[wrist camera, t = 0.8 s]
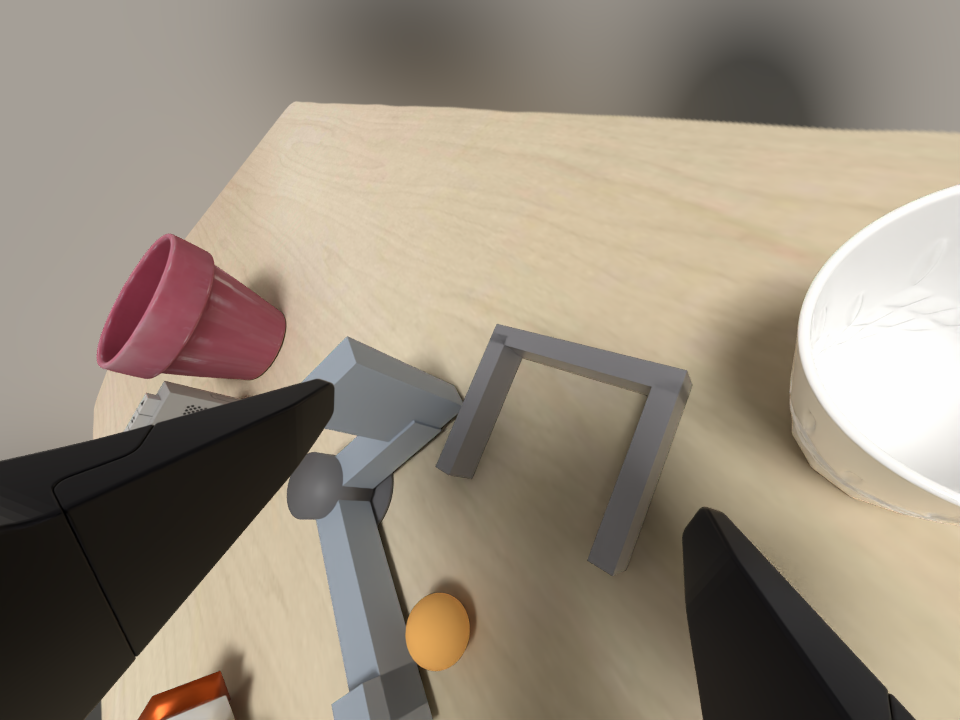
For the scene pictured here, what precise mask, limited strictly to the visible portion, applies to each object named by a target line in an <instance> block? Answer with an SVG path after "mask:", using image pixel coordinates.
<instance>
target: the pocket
mask: <svg viewBox="0 0 960 720" xmlns="http://www.w3.org/2000/svg"><path fill="white" fill-rule="evenodd" d="M522 358H524V359H527V360H531V361H534V362H537V363H541V364H544V365H547V366H551V367H554V368H557V369H561V370H564V371H567V372H571V373H574V374H577V375H581V376H584V377H587V378H591V379H594V380H597V381H601V382H604V383H607V384H611V385H614V386H617V387H621V388H624V389H627V390H631V391H634V392H638V393H641V394H644V395H648V398H647V401H646V404H645V407H644V409H643V412H642V415H641V417H640V420H639V423H638V425H637V428H636V431H635V433H634V436H633V439H632V441H631V444H630V447H629V450H628V452H627V455H626V458H625V460H624V463H623V466H622V468H621V471H620V474H619V476H618V479H617V482H616V484H615V487H614V490H613V493H612V495H611V498H610V501H609V503H608V506H607V509H606V511H605V514H604V517H603V519H602V522H601V525H600V527H599V530H598V533H597V536H596V538H595V541H594V544H593V546H592V549H591V552H590V554H589V557H588V560H587V561H589V562H590V563H592V564H594V565H595V566H597V567H599V568H600V569H602V570H603V571H605V572H607V573H608V574H610V575H611V576H614V575H616V574H618V573H621V572H623V571H625V570H626V569H627V566H628V563H629V560H630V558H631V555H632V552H633V549H634V547H635V544H636V541H637V538H638V535H639V533H640V530H641V527H642V524H643V522H644V519H645V516H646V513H647V510H648V508H649V505H650V502H651V499H652V497H653V494H654V491H655V488H656V485H657V483H658V480H659V477H660V474H661V472H662V469H663V466H664V463H665V460H666V458H667V455H668V452H669V449H670V446H671V444H672V441H673V438H674V435H675V433H676V430H677V427H678V424H679V421H680V419H681V416H682V413H683V410H684V408H685V405H686V402H687V399H688V396H689V394H690V391H691V388H692V382H691V379H690V377H689V374H688V371H687V370H683V369H679V368H675V367H671V366H667V365H663V364H659V363H655V362H651V361H646V360H642V359H638V358H634V357H630V356H626V355H622V354H618V353H614V352H610V351H606V350H602V349H597V348H593V347H589V346H585V345H581V344H577V343H573V342H569V341H565V340H561V339H557V338H552V337H548V336H544V335H540V334H536V333H532V332H528V331H524V330H520V329H516V328H512V327H508V326H503V325H499V324H496V327H495V329H494V331H493V334H492V336H491V338H490V341H489V343H488V345H487V348H486V350H485V352H484V355H483V357H482V359H481V362H480V364H479V366H478V369H477V371H476V373H475V376H474V378H473V380H472V383H471V385H470V387H469V390H468V392H467V394H466V397H465V399H464V401H463V404H462V406H461V408H460V411H459V413H458V415H457V418H456V420H455V422H454V425H453V427H452V429H451V432H450V434H449V436H448V439H447V441H446V443H445V446H444V448H443V450H442V453H441V455H440V457H439V460H438V462H437V464H436V468H438V469H440V470H441V471H443V472H445V473H446V474H448V475H451V476H458V477H464V478H471V479H472V477H473V475H474V472H475V470H476V468H477V465H478V463H479V460H480V458H481V456H482V453H483V451H484V448H485V446H486V444H487V441H488V439H489V436H490V434H491V432H492V429H493V427H494V424H495V422H496V420H497V417H498V415H499V412H500V410H501V408H502V405H503V403H504V400H505V398H506V396H507V393H508V391H509V388H510V386H511V384H512V381H513V379H514V376H515V374H516V372H517V369H518V367H519V364H520V362H521V359H522Z"/></svg>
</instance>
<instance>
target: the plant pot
mask: <svg viewBox="0 0 960 720" xmlns="http://www.w3.org/2000/svg"><path fill="white" fill-rule="evenodd" d="M285 326H286V324H285V318H284V315H283V314H282V312H280V311H279V310H278V309H276V308H275V307H273V306H272V305H271V304H269V303H268V302H267V301H265V300H264V299H262V298H261V297H260V296H258V295H257V294H256V293H254V292H253V291H252V290H250V289H249V288H247V287H246V286H245V285H243V284H242V283H240V282H239V281H238V280H236V279H235V278H233V277H232V276H230V275H229V274H227V273H226V272H224V271H223V270H221V269H220V268H219V267H217V266H216V265H214V260H213V257H212V255H211V254H210V253H208V252H207V251H205V250H203V249H201V248H199V247H197V246H195V245H193V244H191V243H189V242H187V241H185V240H183V239H181V238H179V237H177V236H175V235H173V234H165V235H163V236H162V237H160V238H159V239H158V240H157V241H156V242H155V243H154V244H153V245H152V246H151V247H150V249H149V250H148V251H147V252H146V253H145V255H144V256H143V257H142V259H141V260H140V261H139V263H138V264H137V266H136V267H135V269H134V270H133V272H132V273H131V275H130V277H129V278H128V280H127V281H126V283H125V285H124V287H123V288H122V290H121V292H120V294H119V296H118V298H117V299H116V302H115V303H114V305H113V307H112V310H111V312H110V314H109V316H108V318H107V321H106V323H105V326H104V328H103V331H102V334H101V337H100V340H99V344H98V348H97V363H98V365H99V366H100V367H101V368H103V369H107V370H110V371H114V372H118V373H122V374H126V375H130V376H135V377H139V378H144V379H150V378H153V377H156V376H157V375H159V374H161V373H165V374H174V375H185V376H196V377H210V378H227V379H243V380H252V379H255V378H257V377H259V376H260V375H261V374H263V373H264V372H265V371H266V370H267V369H268V367H269V366H270V365H271V364H272V362H273V361H274V359H275V357H276V355H277V353H278V351H279V349H280V347H281V344H282V341H283V338H284V334H285Z"/></svg>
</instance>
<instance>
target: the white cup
mask: <svg viewBox="0 0 960 720" xmlns="http://www.w3.org/2000/svg"><path fill="white" fill-rule="evenodd" d="M789 393H790V401H789V402H790V411H791V415H792V435H793V436H794V438H795V440H796V442H797V443H798V445H799V447H800V448H801V450H802V452H803V454H804V455H805V457H806V459H807V461H808V462H809V464H810V466H811V467H812V468H813V469H814V470H816V471H817V472H818V473H820V474H821V475H822V476H823V477H825V478H826V479H827V480H829V481H830V482H831V483H833V484H834V485H835V486H837V487H838V488H839V489H841V490H842V491H843V492H845V493H846V494H847V495H849V496H850V497H852V498H855V499H858V500H861V501H864V502H867V503H870V504H873V505H875V506H878V507H881V508H884V509H887V510H890V511H893V512H896V513H899V514H902V515H905V516H913V517H917V518H921V519H925V520H929V521H934V522H939V523H944V524H951V525H956V526H960V184H958V185H955V186H952V187H949V188H946V189H943V190H940V191H937V192H934V193H931V194H929V195H926V196H924V197H921V198H919V199H916V200H914V201H912V202H909V203H907V204H905V205H903V206H901V207H899V208H897V209H895V210H893V211H891V212H889V213H887V214H886V215H884V216H882V217H880V218H879V219H877V220H875V221H874V222H872V223H871V224H869V225H868V226H866V227H865V228H863V229H862V230H860V231H859V232H858V233H856V234H855V235H854V236H853V237H851V238H850V239H849V240H848V241H847V242H845V243H844V244H843V245H842V246H841V247H840V248H839V249H838V250H837V251H836V252H835V253H834V254H833V255H832V256H831V257H830V258H829V259H828V260H827V262H826V263H825V264H824V265H823V267H822V268H821V269H820V271H819V272H818V274H817V275H816V277H815V278H814V280H813V282H812V283H811V285H810V287H809V289H808V291H807V294H806V296H805V298H804V301H803V304H802V308H801V311H800V316H799V322H798V330H797V338H796V345H795V352H794V358H793V364H792V371H791V379H790V390H789Z"/></svg>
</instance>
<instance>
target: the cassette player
mask: <svg viewBox="0 0 960 720" xmlns="http://www.w3.org/2000/svg"><path fill="white" fill-rule="evenodd" d="M237 400H241V399H238V398H234V397H230V396H225V395H221V394H217V393H213V392H209V391H205V390H200V389H196V388H192V387H188V386H184V385H179V384H175V383H171V382H167V381H164V382H163V384H162V386H161V387H160V389H159V391H158V393H157V394H156V395H153V394H149V393H146V394H145V395H144V397H143V399H142V401H141V402H140V404H139V406H138V408H137V409H136V411H135V413H134V415H133V416H132V418H131V420H130V422H129V423H128V425H127V427H126V429H125V430H124V432H125V431H129V430H133V429H136V428H140V427H144V426H147V425H151V424H153V425H155V424H156V423H158V422H162V421H165V420H169V419H173V418H176V417H180V416H183V415H187V414H191V413H194V412H198V411H201V410H205V409H209V408H212V407H216V406H219V405H223V404H227V403H230V402H234V401H237Z"/></svg>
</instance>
